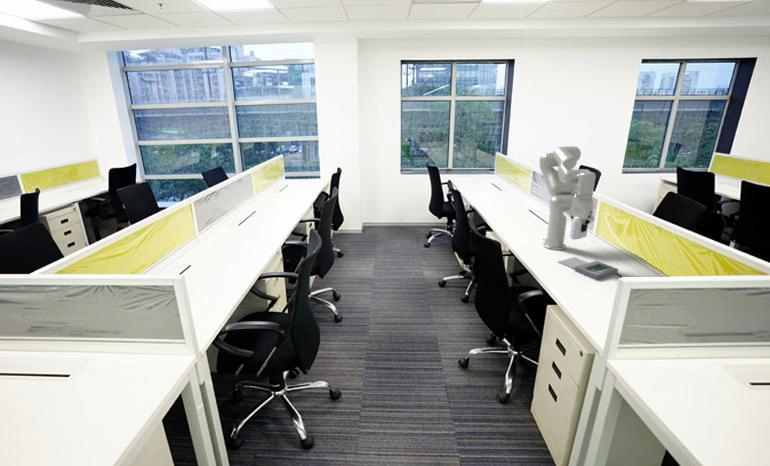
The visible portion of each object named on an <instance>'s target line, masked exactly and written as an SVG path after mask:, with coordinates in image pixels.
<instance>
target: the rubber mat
mask: <svg viewBox="0 0 770 466" xmlns="http://www.w3.org/2000/svg"><path fill="white" fill-rule="evenodd" d="M557 263H558V264H561V265H563V266H565V267H568V268H570V269H573V270H575V267H576V266H580V265H583V264H587V263H589V262H588V261H585V260H584V259H580V258H578V257H575V256H574V257H570V258H565V259H562V260H560V261H557Z"/></svg>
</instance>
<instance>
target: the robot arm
mask: <svg viewBox="0 0 770 466" xmlns="http://www.w3.org/2000/svg"><path fill="white" fill-rule="evenodd" d="M581 156H582V152H581V149H580V148H579V147H578V146H559V147H557V148H555V149H554V150H553V151H552V152H548V153H543V154H542V155H541V156H540V158H539V168H540V171H541V174H542V175H543V177H544V179H545V182H546V183H545V184H546V188H547V190H548V191H547V192H548V193H549V195H550V196H551V198H550V199H549V202H548V204H549V205H548V206H549V207H548V208H549V219H548V225H547V226H548V227H547V235H544V236H543V237H542V238H541V239H542V240H543V241H544V242H543V245H542V246H543V247H544V248H546V249H549V250H554V251H562V250H565V249H566V248H567V245H566V244H565V237H566V229H567V228H566V227H567V217H566V215H565V214H564V213H566V212H568V216H569V217H570V219H571V221H572V220H573V219H574V218H575V217H579V218H580V219H583V224H582V227H581V232H584V231H586V230H587V231H588V229H587V224H588V225H589V224H590V223H592V222H594V221H595V218H594V216H593V214H594V199H593V197H594V195H593V194H594V189H595V182H596V177H597V176H596V172H592V171H590V170H589V169H587V168H586V169H583V168H577V169H574V168H575V167H576V165H577V163H578V161H579V160H580V158H581ZM555 168H557V169H555ZM588 218H589V219H588Z"/></svg>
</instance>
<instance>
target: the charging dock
mask: <svg viewBox="0 0 770 466" xmlns="http://www.w3.org/2000/svg"><path fill="white" fill-rule="evenodd" d="M596 269H600V270H596ZM593 270H596V271H593ZM574 272H576V273H579V274H580V275H583V276H585V277H588V278H590V279H592V280H593V281H597V280H600V279H605V278H607V277H611V276H615V275H616V274H618V273H619V268H616V267H613V266H611V265H608V264H606V263H604V262H600V261H598V260H594V261H590V262H588V263H587V264H583V265H580V266H576V267H575V269H574Z"/></svg>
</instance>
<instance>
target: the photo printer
mask: <svg viewBox="0 0 770 466" xmlns="http://www.w3.org/2000/svg"><path fill="white" fill-rule="evenodd" d="M588 219H589V218H588ZM589 220H590V219H589ZM582 224H583V219H580V218H579V217H575V218H574V219H573V220H572V219H571V225H570V233H569V238H570V239H571V240H581V239H584V238H585V237H587V236H588V229H589V228H588V227H589V224H587V230H586V231H584V232H581V227H582Z"/></svg>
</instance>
